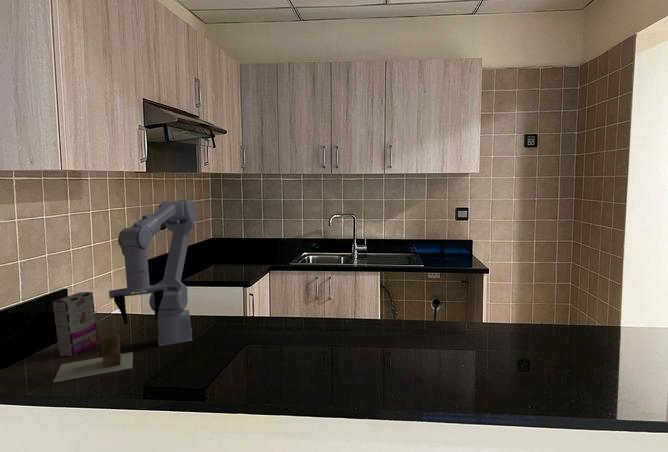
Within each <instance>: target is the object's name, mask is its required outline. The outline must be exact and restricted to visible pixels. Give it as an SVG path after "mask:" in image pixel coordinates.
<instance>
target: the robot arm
mask: <svg viewBox="0 0 668 452" xmlns="http://www.w3.org/2000/svg"><path fill="white" fill-rule="evenodd" d="M196 217H197V209H196V206H195V203H194V202H193V200H191V199H187V200H175V201H173V200H172V201H162V202H161V203H159V205H158V209H157V210H156V211H154V213H153V214H151V215H150V214H143V215H142V216H141V218H140V219H139V220H138V221H137V222H133V225H132V226H131V227H125V228H123V229H122V230H120V232H119V234H118V238H117V243H118V246H119V247H120V249H121V254H122V256H124V266H125V269H124V270H125V279H126V287H124V288H117V289H110V290H109V291H108V294H109V296H108V297H109V299H113V302H114V304H115V305H116V307H117V309H118V310H119V312H120V314H121V316H122V319H123V323H124V325H127V324H128V315H127V309H126V307H127V306H126V297H131V296H132V297H133V296H139V295H148V294H150V296H149V300H148V303H149V308H151V309H150V310H152V311H153V312H154V320H155V321H157V325H158V326H157V328H158V337H157V341H158V342H157V343H158V347H163V346H169V345H175V344H181V343H186V342H187V343H188V342H192V341H193V336H192V334H193V329H192V324H191V316H190V311H189V309H186V308H187V305H188V301H189V300H188V299H189V298H188V293H189V292H188V290H189V289H188V287H187V286H186V285H185V284H184V283H183V282H182V276H183V272H184V265H185V262H186V258H187V257H186V256H187V251H188V245H189V240H190V235H191V231H192V229H194V227H195V223H196V222H195V221H196ZM163 224H164V226H165V227H166V229H167V230H168V231H170V232H172V237H171V240H170V245H169V250H168V255H167V258H166V259H167V260H166V264H165V269H164V274H163V278H162V279H161V280H160V281H159V282H157V283H155V284H150V273H149V260H148V259H149V258H148V248H149V247H150V244H151V240H152V239H153V237H154V236H156V234H157V233H159V232H160V231H161V228H162V227H161V226H162V225H163Z"/></svg>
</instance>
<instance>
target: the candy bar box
mask: <svg viewBox="0 0 668 452" xmlns="http://www.w3.org/2000/svg"><path fill="white" fill-rule="evenodd" d="M93 293H94V292H93V291H85V292H84V291H79V292H77V293H74V294H71V295H68V296H65V297H61V298H59V299H56V300H53V301H52V310H53V316H54V324H55V329H56V330H55V333H56V339H57V344H58V345H57V346H58V352H59V353H58V354H59V356H61V357H62V356H63V357H74V356H77V355H78V354H81V353H82V352H84V351H86V350H89V349H90V348H92V347H95V346H97V345H98V344H99V343H100V342H99V334H98V327H97V318H96V311H95V309H96V308H95V304H94V303H95V302H94V295H93Z"/></svg>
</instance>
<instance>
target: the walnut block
mask: <svg viewBox="0 0 668 452" xmlns="http://www.w3.org/2000/svg"><path fill="white" fill-rule="evenodd" d="M100 346H101V357H102V358H103V367H104V368H107V367H112V366H118V365H120V363H121V354H122V353H121V344H120V334H119V333H114V334H113V333H112V334H105V335H102V337H101V339H100Z"/></svg>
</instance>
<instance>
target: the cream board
mask: <svg viewBox="0 0 668 452" xmlns="http://www.w3.org/2000/svg"><path fill="white" fill-rule="evenodd" d="M133 360H134V352H131V351H130V352H126V353H121V363H120V365H118V366H112V367H107V368H104V367H103V358H102V356H101V357H96V358H95V357H94V358H90V359H85V360H79V361H73V362H67V363H61V365H60V366H59V369H58V371H57V372H56V375H55V377H54V379H53V381H52V382H53V383H58V382H64V381H68V380H69V381H70V380H74V379H80V378H86V377H90V376H96V375H101V374H107V373H113V372H117V371H124V370H130V369H133Z"/></svg>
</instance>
